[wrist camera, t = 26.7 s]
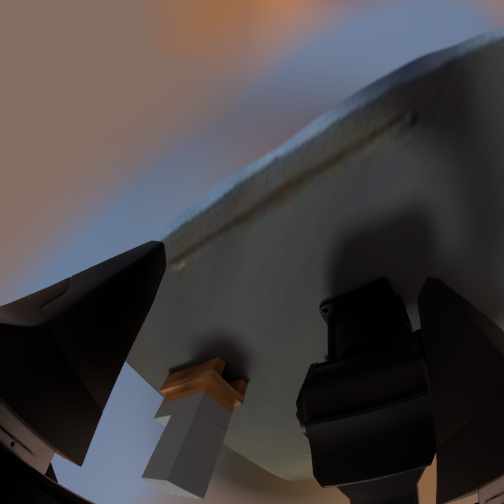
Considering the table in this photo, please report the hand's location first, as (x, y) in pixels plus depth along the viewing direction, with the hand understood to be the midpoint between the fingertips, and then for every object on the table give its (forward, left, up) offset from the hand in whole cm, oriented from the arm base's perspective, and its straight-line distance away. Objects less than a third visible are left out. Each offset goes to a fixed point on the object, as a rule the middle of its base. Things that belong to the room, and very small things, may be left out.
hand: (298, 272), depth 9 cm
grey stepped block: (-22, -15, -10) cm, 28 cm away
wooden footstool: (-21, -14, -13) cm, 29 cm away
